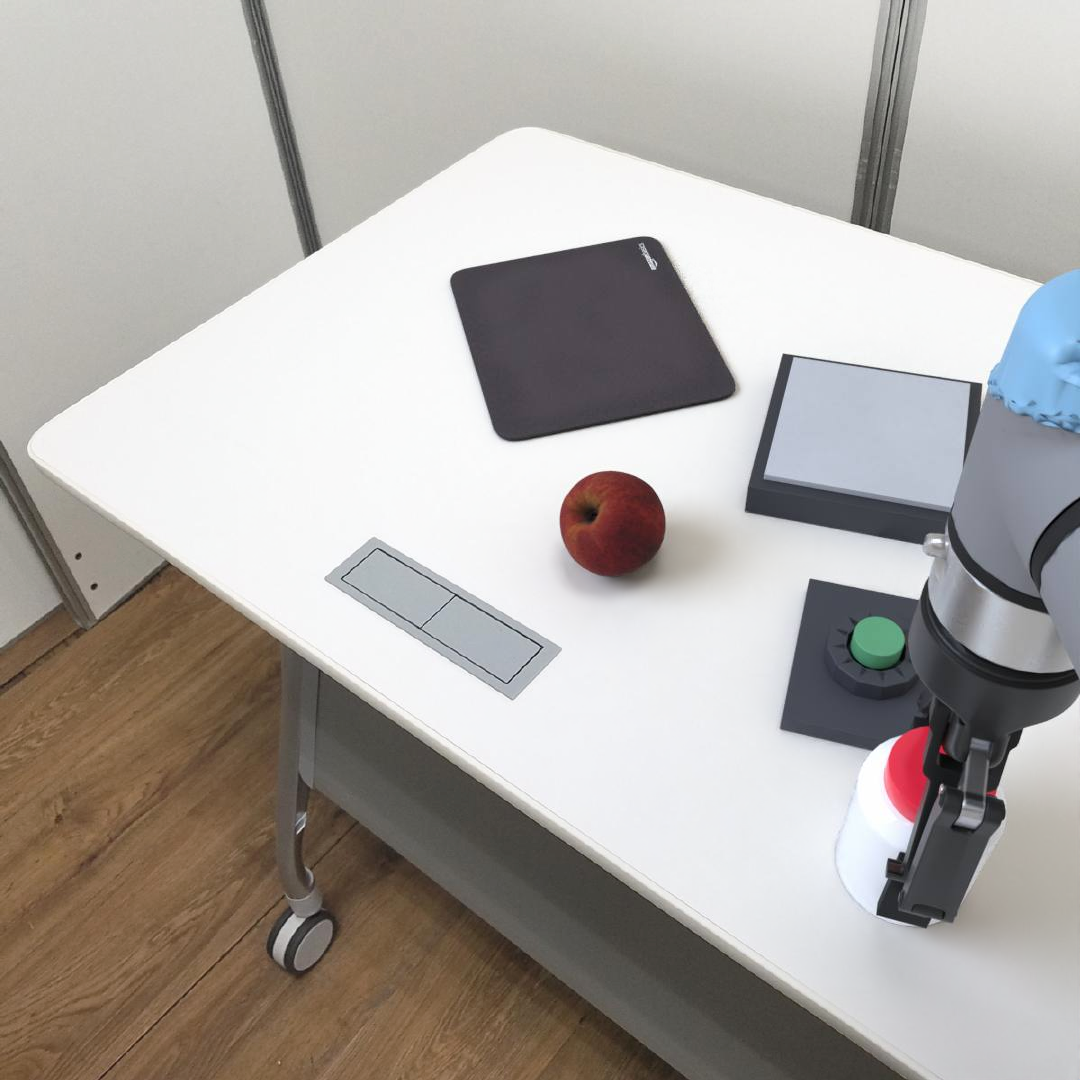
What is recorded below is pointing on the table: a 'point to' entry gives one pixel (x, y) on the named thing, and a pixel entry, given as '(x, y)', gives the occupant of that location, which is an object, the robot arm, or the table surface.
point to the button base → (849, 670)
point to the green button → (877, 642)
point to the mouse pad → (586, 338)
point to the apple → (612, 523)
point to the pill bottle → (888, 817)
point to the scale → (863, 448)
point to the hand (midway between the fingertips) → (908, 846)
